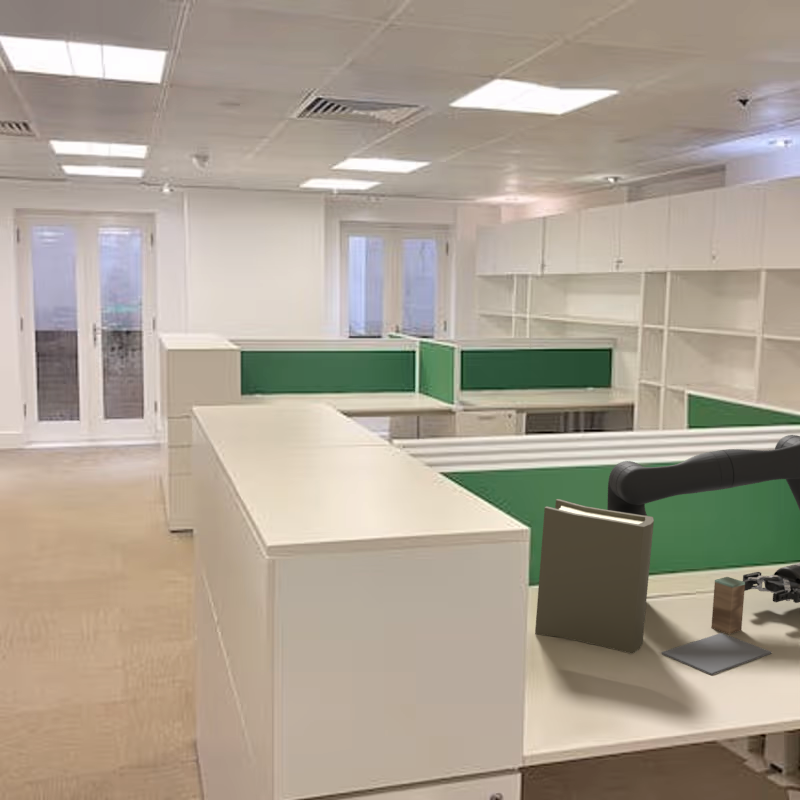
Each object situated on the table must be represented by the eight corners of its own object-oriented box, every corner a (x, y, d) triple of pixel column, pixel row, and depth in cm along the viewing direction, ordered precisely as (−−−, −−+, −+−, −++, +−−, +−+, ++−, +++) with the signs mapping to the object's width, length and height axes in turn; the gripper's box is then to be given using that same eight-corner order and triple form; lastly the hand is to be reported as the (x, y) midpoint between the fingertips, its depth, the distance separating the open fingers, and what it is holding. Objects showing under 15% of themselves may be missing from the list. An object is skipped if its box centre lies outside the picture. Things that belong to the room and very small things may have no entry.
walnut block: (728, 634, 198) (732, 585, 197) (711, 627, 202) (714, 579, 200) (741, 630, 201) (745, 582, 199) (723, 623, 204) (727, 576, 203)
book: (645, 641, 194) (657, 514, 190) (635, 657, 186) (647, 524, 182) (548, 620, 204) (557, 498, 200) (535, 634, 195) (544, 507, 191)
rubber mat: (711, 675, 177) (711, 673, 177) (661, 653, 186) (661, 651, 186) (771, 653, 188) (771, 651, 188) (721, 634, 198) (721, 632, 198)
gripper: (771, 557, 221) (731, 567, 212) (827, 573, 210) (787, 585, 200) (769, 587, 222) (728, 598, 213) (824, 604, 211) (784, 617, 201)
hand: (757, 592), depth 207 cm, fingers open, 8 cm apart
